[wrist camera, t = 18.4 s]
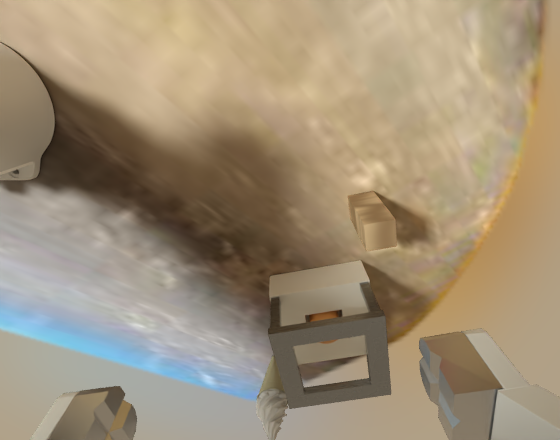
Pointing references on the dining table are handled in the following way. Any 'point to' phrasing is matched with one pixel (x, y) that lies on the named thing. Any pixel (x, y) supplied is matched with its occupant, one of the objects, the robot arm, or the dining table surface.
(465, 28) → the dining table surface
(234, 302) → the dining table surface
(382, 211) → the wooden toy block
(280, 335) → the guard frame
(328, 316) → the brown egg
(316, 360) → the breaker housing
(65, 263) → the dining table surface
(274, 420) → the ice cream cone
